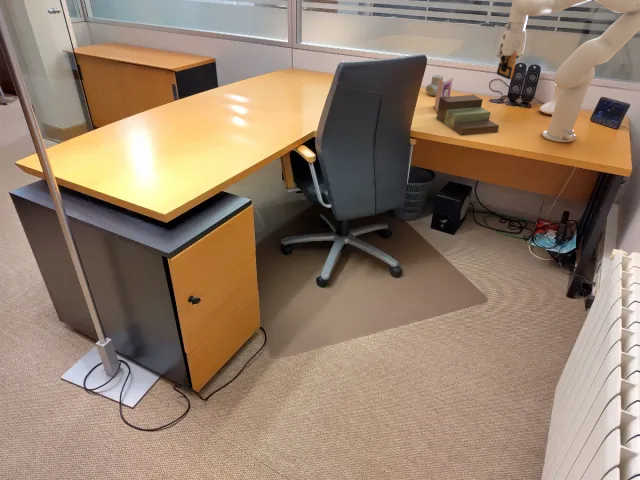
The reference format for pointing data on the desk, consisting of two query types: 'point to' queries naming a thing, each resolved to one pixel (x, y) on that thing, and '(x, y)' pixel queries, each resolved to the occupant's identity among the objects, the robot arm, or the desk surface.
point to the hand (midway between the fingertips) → (505, 70)
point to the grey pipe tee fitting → (433, 85)
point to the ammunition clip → (508, 67)
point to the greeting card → (442, 90)
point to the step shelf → (465, 115)
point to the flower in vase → (551, 102)
